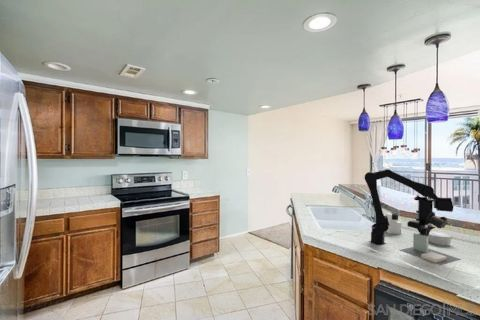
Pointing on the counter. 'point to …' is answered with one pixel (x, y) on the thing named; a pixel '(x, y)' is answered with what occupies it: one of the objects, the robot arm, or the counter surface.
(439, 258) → the cream angular block
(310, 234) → the counter surface
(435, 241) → the ramekin
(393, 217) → the medicine bottle
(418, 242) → the sage tile
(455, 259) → the slate mat
